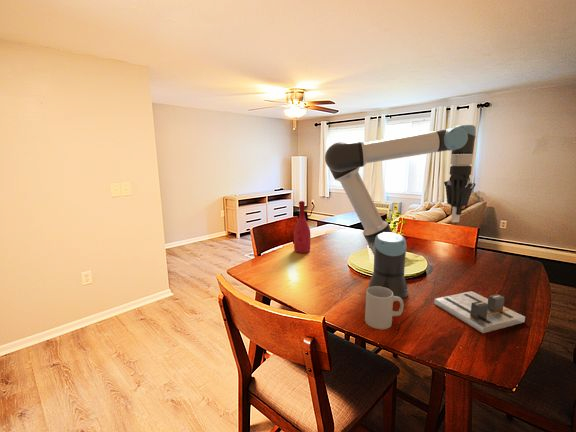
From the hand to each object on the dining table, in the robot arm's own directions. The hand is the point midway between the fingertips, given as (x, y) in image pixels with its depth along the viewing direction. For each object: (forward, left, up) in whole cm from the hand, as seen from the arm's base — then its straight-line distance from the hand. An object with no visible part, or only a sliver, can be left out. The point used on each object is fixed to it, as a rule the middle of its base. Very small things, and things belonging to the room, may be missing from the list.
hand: (455, 221), depth 118 cm
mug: (-47, -18, -27) cm, 57 cm away
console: (-13, -23, -26) cm, 38 cm away
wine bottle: (-47, +60, -27) cm, 81 cm away
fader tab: (-9, -26, -24) cm, 37 cm away
